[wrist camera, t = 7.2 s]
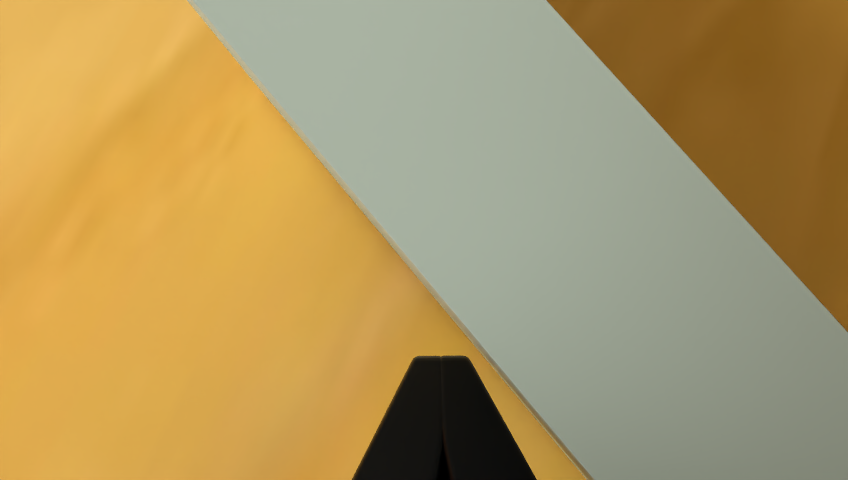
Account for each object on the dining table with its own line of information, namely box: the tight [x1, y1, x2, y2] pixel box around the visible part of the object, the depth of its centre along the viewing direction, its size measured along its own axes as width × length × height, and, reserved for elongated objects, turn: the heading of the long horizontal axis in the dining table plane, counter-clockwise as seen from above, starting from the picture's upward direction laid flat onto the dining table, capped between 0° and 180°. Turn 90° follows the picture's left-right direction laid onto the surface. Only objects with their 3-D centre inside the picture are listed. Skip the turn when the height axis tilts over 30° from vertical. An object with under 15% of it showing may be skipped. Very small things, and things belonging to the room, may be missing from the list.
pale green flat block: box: [187, 0, 848, 480], centre depth 10 cm, size 15×3×10 cm, turn 40°
